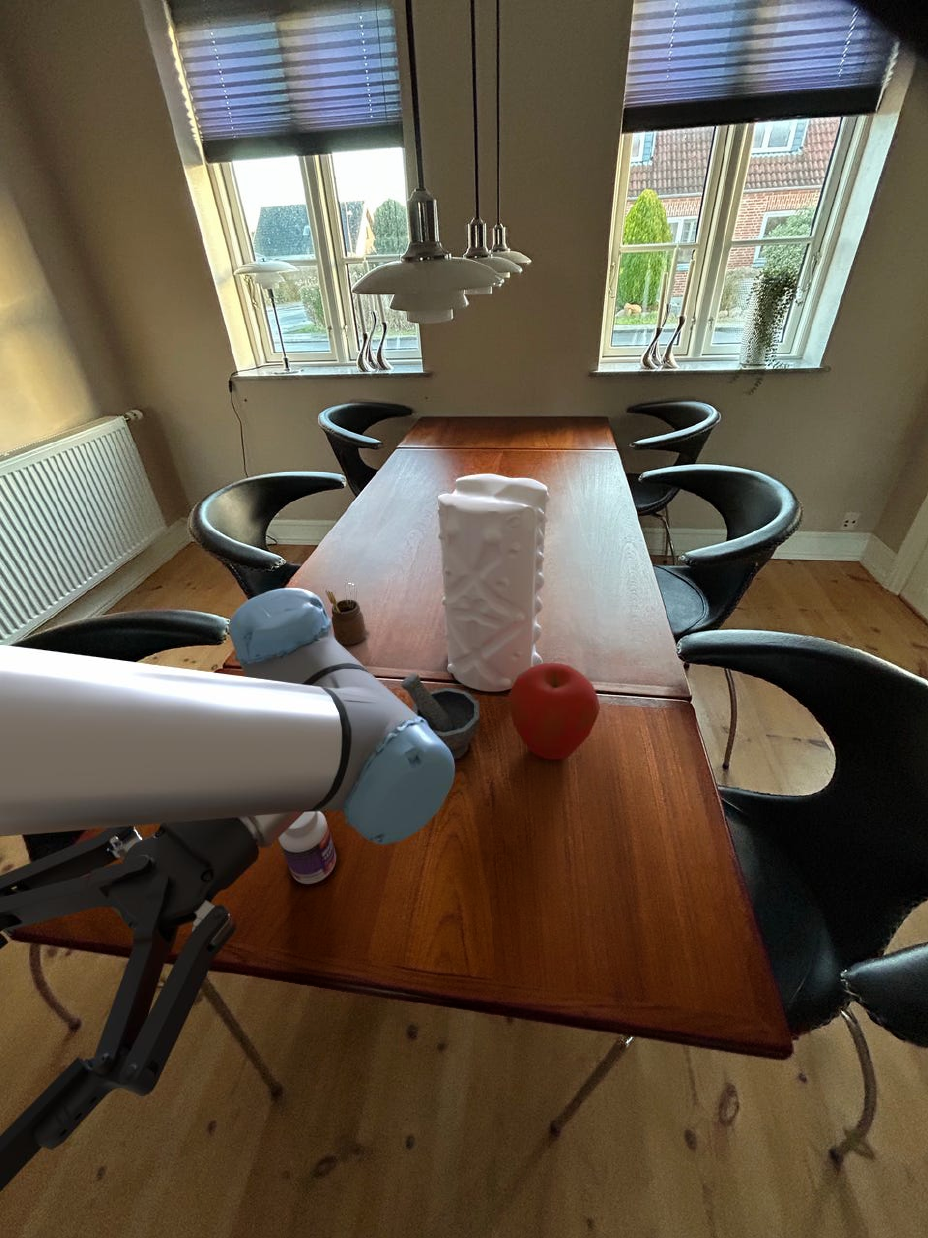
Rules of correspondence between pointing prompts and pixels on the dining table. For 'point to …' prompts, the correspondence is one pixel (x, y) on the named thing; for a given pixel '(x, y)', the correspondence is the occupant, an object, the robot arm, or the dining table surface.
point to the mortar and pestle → (446, 713)
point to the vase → (492, 577)
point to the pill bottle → (309, 848)
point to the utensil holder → (347, 620)
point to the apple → (553, 709)
